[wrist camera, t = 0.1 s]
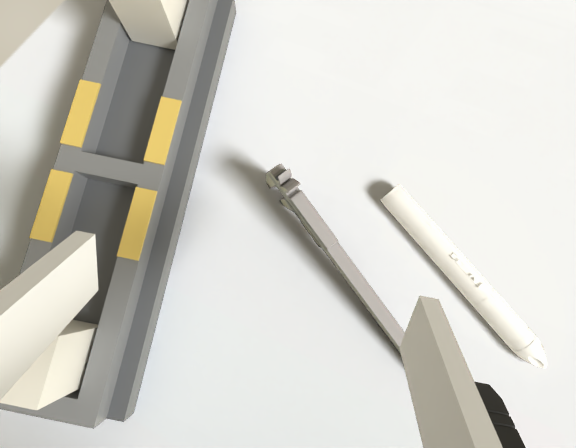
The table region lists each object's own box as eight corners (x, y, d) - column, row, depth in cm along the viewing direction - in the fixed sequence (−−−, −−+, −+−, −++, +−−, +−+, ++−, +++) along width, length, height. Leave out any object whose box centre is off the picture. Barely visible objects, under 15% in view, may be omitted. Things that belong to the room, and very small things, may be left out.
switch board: (133, 413, 29) (110, 433, 25) (2, 385, 29) (-44, 401, 25) (236, 12, 35) (230, -25, 31) (125, -11, 35) (105, -52, 31)
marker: (546, 356, 31) (568, 362, 29) (528, 374, 31) (548, 381, 29) (394, 187, 33) (404, 179, 31) (376, 202, 33) (384, 196, 30)
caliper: (265, 185, 33) (263, 161, 26) (276, 177, 33) (276, 152, 27) (425, 387, 31) (464, 412, 24) (436, 378, 31) (477, 400, 24)
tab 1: (88, 384, 27) (36, 410, 21) (31, 372, 27) (-35, 395, 21) (104, 326, 28) (58, 336, 22) (49, 314, 28) (-11, 321, 22)
